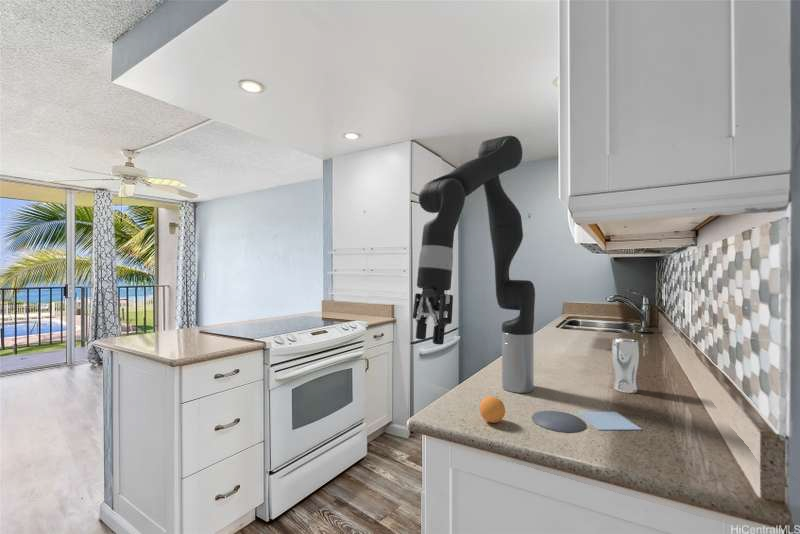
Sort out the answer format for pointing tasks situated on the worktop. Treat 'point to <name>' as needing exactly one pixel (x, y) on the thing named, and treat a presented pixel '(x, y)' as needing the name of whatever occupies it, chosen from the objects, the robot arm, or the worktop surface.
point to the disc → (558, 421)
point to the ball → (492, 409)
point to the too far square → (608, 421)
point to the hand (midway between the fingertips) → (428, 341)
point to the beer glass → (625, 364)
